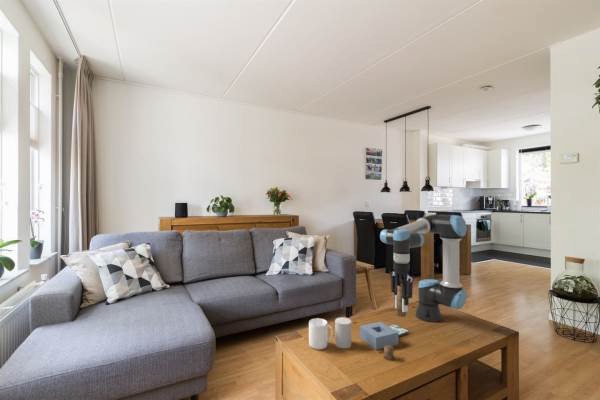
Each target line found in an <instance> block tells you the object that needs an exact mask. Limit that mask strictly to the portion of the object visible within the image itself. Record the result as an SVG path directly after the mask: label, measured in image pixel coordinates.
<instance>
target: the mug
mask: <svg viewBox="0 0 600 400" xmlns="http://www.w3.org/2000/svg"><path fill="white" fill-rule="evenodd" d="M328 328H329V329H330V331H331V334H330V337H328V334H329V333H328V331H329V330H328ZM333 331H334V330H333V327H332V326H331V325H329V324H328V321H327V320H326V319H324V318H319V317H316V318H312V319H310V320H309V321H308V345H309V347H310V348H311V349H314V350H317V351H320V350H324V349H326V348H327V347H328V341H330V340H332V338H333V336H334V335H333V334H334V333H333Z"/></svg>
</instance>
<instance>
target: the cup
mask: <svg viewBox="0 0 600 400" xmlns="http://www.w3.org/2000/svg"><path fill="white" fill-rule="evenodd" d="M334 335H335V337H334V345H335V346H336V347H337V348H340V349H349V348H351V346H352V320H351V318H347V317H344V316H343V317H337V318H335V320H334Z"/></svg>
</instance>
